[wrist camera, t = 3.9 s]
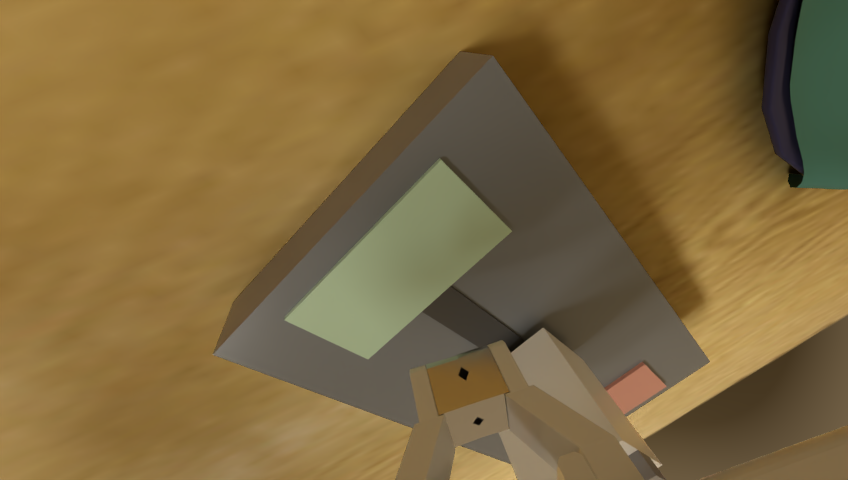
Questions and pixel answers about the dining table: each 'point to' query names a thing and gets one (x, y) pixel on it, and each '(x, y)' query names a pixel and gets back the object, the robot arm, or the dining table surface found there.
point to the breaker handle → (571, 406)
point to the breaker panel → (456, 264)
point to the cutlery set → (809, 91)
